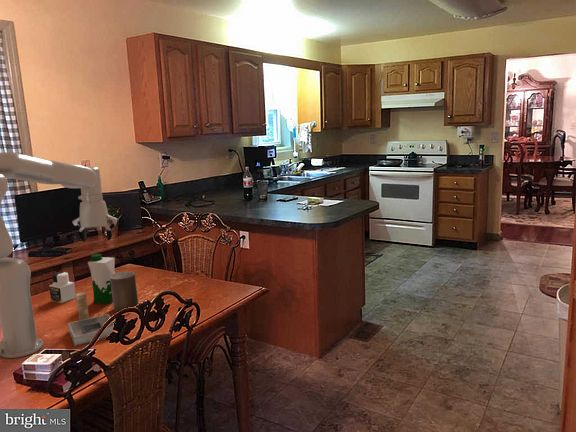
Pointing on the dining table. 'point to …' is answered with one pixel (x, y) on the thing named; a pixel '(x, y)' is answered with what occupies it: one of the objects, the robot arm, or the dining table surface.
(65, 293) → the medicine bottle
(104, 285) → the milk carton
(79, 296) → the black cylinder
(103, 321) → the tin
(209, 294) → the dining table surface
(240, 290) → the dining table surface
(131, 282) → the pillar candle
